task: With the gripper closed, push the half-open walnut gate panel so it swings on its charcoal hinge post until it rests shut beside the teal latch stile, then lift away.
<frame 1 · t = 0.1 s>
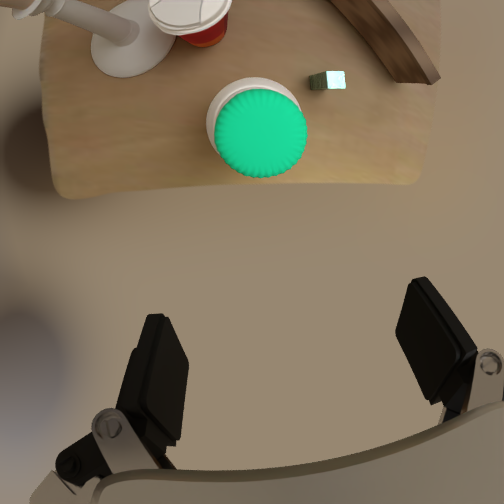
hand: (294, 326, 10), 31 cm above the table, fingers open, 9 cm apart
paper cup: (205, 30, 27), on the table
water bottle: (248, 112, 34), on the table
candlestick: (132, 36, 27), on the table
gate: (381, 30, 23), point 6 cm above the table, hinge at 35.0°
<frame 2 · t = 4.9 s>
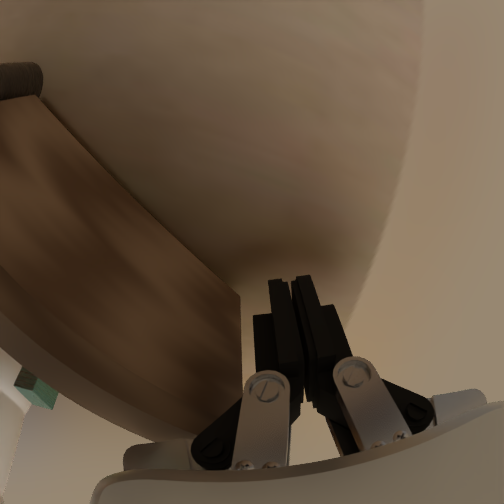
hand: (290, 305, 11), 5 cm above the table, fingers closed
gate posts: (24, 87, 9), on the table
water bottle: (24, 336, 20), on the table
gate: (81, 254, 9), point 5 cm above the table, hinge at 32.7°, touching gripper
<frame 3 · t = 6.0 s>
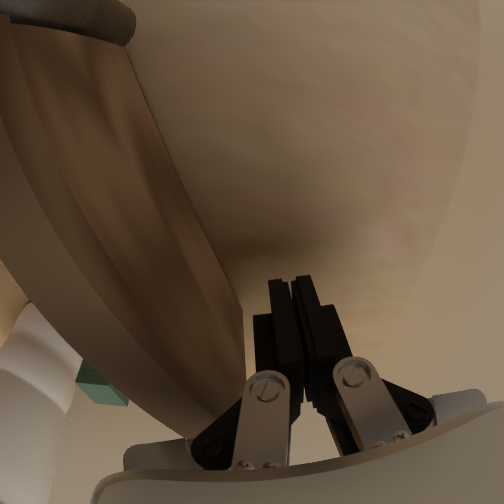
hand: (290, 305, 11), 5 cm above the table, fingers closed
gate posts: (108, 29, 9), on the table
water bottle: (58, 326, 19), on the table
gate: (149, 249, 9), point 6 cm above the table, hinge at 12.1°, touching gripper
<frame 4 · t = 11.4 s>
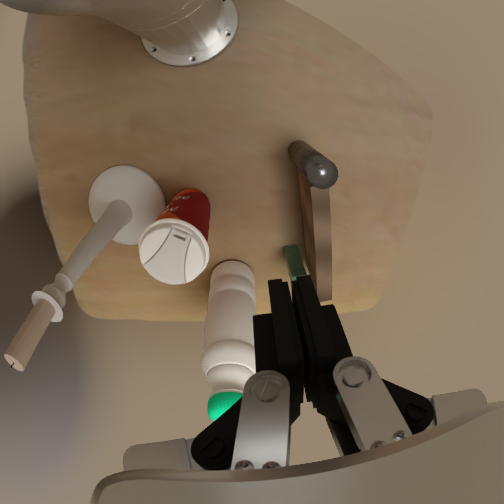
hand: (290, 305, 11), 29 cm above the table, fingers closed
gate posts: (299, 151, 36), on the table
paper cup: (191, 206, 40), on the table
water bottle: (232, 276, 46), on the table
candlestick: (126, 205, 39), on the table
gate: (314, 232, 36), point 5 cm above the table, hinge at 2.4°
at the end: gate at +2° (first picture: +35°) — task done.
